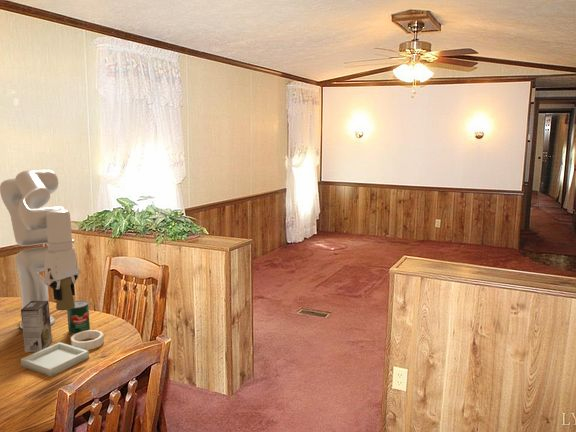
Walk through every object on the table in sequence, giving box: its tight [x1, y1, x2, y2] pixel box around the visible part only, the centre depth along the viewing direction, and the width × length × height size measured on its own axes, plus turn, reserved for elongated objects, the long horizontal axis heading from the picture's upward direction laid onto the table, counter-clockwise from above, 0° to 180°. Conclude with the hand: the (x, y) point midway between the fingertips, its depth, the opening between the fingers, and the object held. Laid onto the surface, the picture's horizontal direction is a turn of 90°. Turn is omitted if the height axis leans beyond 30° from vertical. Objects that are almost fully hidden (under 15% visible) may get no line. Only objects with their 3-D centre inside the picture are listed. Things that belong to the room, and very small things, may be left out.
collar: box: [70, 329, 105, 351], centre depth 179 cm, size 11×11×3 cm
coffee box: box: [20, 300, 53, 353], centre depth 175 cm, size 9×6×16 cm
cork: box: [55, 277, 75, 311], centre depth 167 cm, size 6×6×11 cm
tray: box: [20, 341, 90, 377], centre depth 165 cm, size 15×15×2 cm
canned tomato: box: [66, 300, 91, 335], centre depth 190 cm, size 8×8×11 cm
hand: (64, 296), depth 167 cm, fingers closed on cork, 4 cm apart
